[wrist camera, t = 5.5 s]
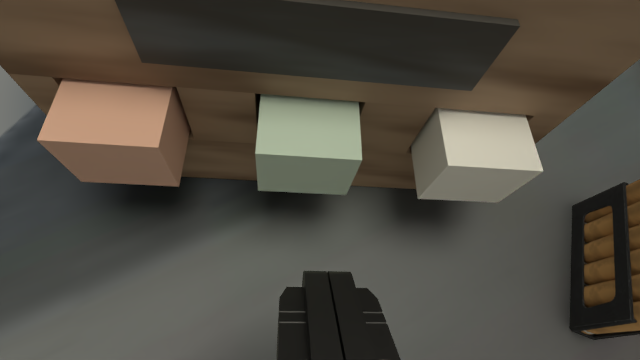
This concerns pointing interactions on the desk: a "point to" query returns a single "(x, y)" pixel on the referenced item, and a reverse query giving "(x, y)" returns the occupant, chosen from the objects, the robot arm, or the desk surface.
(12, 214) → the desk surface
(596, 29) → the keypad console
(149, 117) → the terracotta key
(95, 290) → the desk surface
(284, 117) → the sage key
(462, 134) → the cream key
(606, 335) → the ammunition clip
